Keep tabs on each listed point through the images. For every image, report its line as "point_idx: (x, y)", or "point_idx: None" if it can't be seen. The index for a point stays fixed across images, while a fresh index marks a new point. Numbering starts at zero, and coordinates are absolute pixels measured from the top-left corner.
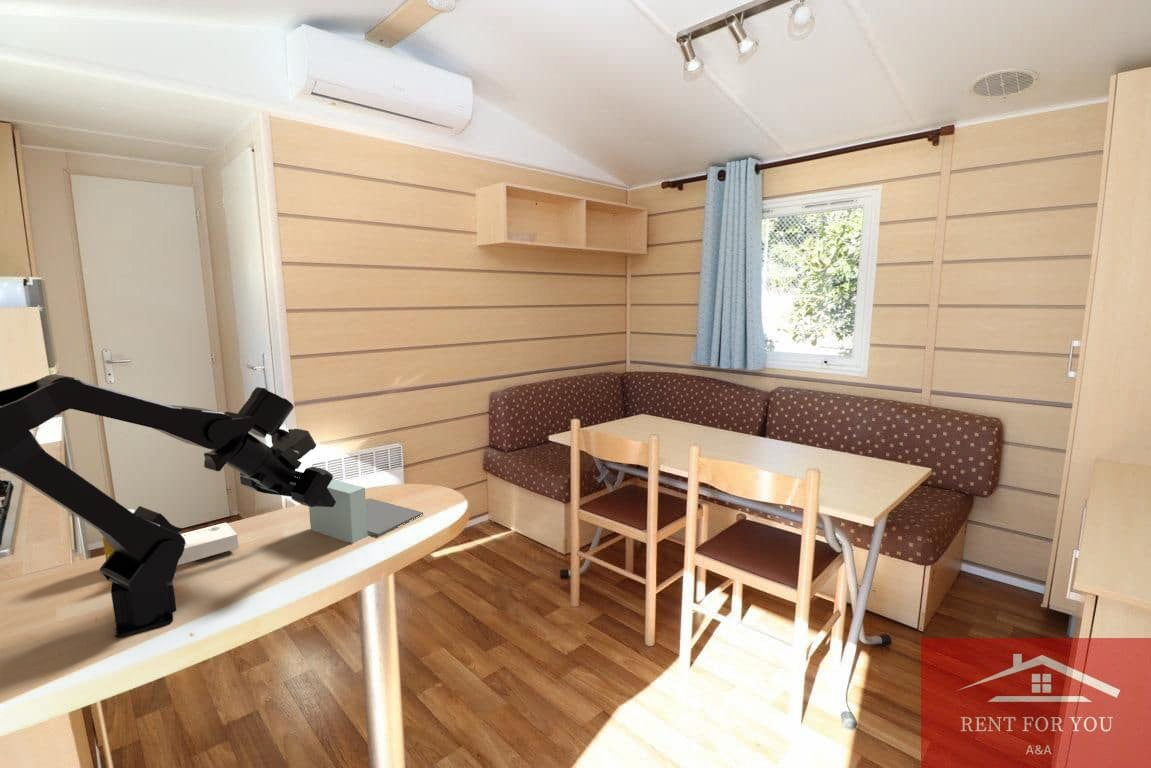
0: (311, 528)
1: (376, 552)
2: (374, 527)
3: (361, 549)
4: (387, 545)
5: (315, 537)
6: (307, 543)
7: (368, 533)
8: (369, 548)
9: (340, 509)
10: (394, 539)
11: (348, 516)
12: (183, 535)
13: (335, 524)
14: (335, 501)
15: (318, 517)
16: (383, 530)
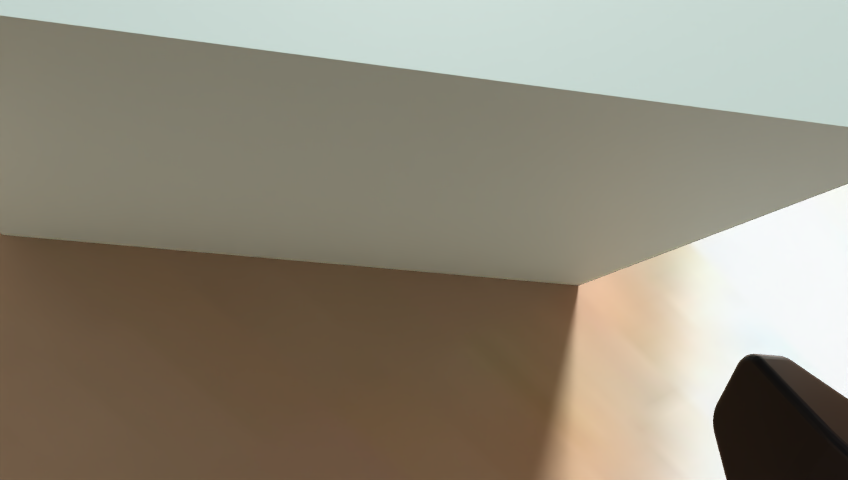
0: (7, 230)
1: (840, 319)
2: None
3: (713, 331)
4: (819, 197)
5: (183, 334)
6: (216, 459)
7: None
8: (750, 291)
9: (550, 203)
10: None
11: (664, 235)
12: None
13: (394, 240)
14: (803, 374)
15: (103, 208)
16: None
